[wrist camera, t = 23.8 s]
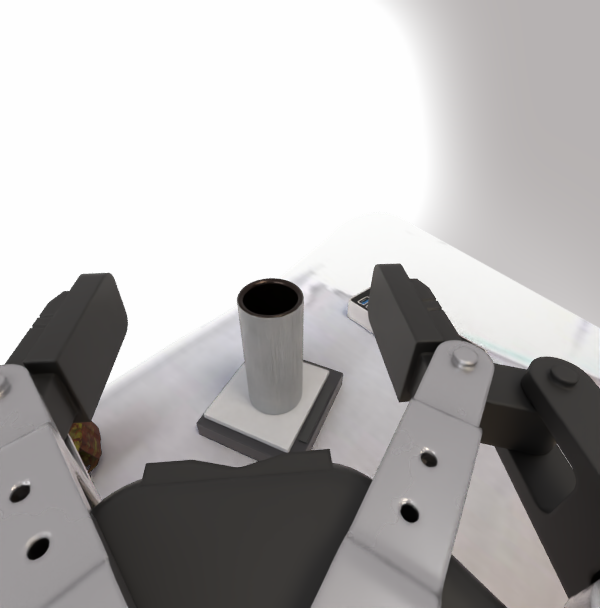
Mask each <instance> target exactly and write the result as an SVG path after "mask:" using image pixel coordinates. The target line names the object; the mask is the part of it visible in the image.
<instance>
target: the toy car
mask: <svg viewBox="0 0 600 608" xmlns="http://www.w3.org/2000/svg"><path fill="white" fill-rule="evenodd" d="M68 434H69V436H70V437H71V439H72V441H73V443H74V445H75V447H76V449H77V451H78V453H79V455H80V457H81V459H82V462H83V464H84V466H85V467H86V466H88V465H91V466H90V468H89V470H88V473H89V472H90V471H92V470H93V469H94V468H95V467H96V466H97V464H98V461H99V458H100V456H101V454H102V451H101V444H100V441H101V437H100V432H99V428H98V427H97V425H96V424H94V423H93V422H92V421H91V422H82V423H73V424H72V426H71V428H70V430H69V433H68Z"/></svg>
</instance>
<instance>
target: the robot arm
mask: <svg viewBox="0 0 600 608" xmlns="http://www.w3.org/2000/svg"><path fill="white" fill-rule="evenodd" d="M368 318H369V322H370V325H371V328H372V330H373V333H374V336H375V338H376V341H377V344H378V347H379V349H380V352H381V355H382V357H383V360H384V363H385V365H386V368H387V371H388V374H389V376H390V379H391V382H392V384H393V387H394V390H395V392H396V395H397V398H398V400H399V402H408V401H410V402H409V404H408V406H407V408H406V410H405V412H404V414H403V417H402V419H401V421H400V423H399V425H398V427H397V429H396V432H395V434H394V436H393V438H392V440H391V442H390V444H389V446H388V449H387V451H386V453H385V455H384V457H383V459H382V461H381V463H380V466H379V468H378V470H377V472H376V474H375V476H374V478H373V480H372V479H371V478H369V477H368V476H366V475H364V474H363V473H361V472H359V471H357V470H355V469H352V468H350V467H347V466H344V465H341V464H336V463H332V460H331V455H330V449H324V450H312V451H299V452H286V453H283V454H280V455H277V456H274V457H271V458H268V459H265V460H262V461H259V462H256V463H253V464H250V465H247V466H244V467H231V466H225V465H219V464H213V463H208V462H202V461H196V460H184V461H171V462H159V463H146V466H145V470H144V474H143V478H142V479H140V480H137V481H135V482H133V483H131V484H128V485H126V486H124V487H122V488H121V489H119V490H117V491H115V492H114V493H112V494H111V495H109V496H108V497H106V498H105V499H103V500H102V499H101V497H100V496H99V494H98V492H97V490H96V488H95V486H94V484H93V482H92V480H91V478H90V476H89V474H88V472H87V470H86V468H85V466H84V464H83V462H82V459H81V457H80V455H79V453H78V451H77V449H76V447H75V445H74V443H73V441H72V439H71V437H70V436H69V434H68V433H69V430H70V428H71V426H72V424H73V423H82V422H91V420H92V417H93V415H94V412H95V410H96V407H97V405H98V402H99V400H100V397H101V395H102V392H103V390H104V387H105V385H106V382H107V380H108V377H109V375H110V372H111V370H112V367H113V365H114V362H115V360H116V357H117V355H118V352H119V350H120V347H121V345H122V342H123V340H124V337H125V335H126V332H127V326H128V322H127V321H128V320H127V314H126V311H125V308H124V305H123V302H122V300H121V297H120V294H119V291H118V288H117V285H116V282H115V279H114V277H113V276H112V275H111V274H110V273H96V274H81V275H80V276H79V278H78V279H77V281H76V282H75V284H74V285H73V287H72V288H71V290H70V291H64V292H62V293H61V294H60V295H58V296H57V297H56V298H54V299H53V300H51V301H50V302H49V303H48V304H47V306H46V307H45V308H44V310H43V311H42V313H41V314H40V318H37V320H36V321H35V323H34V324H33V325H32V326H33V328H30V330H29V331H28V332H27V334H26V335H25V337H24V338H23V339H22V341H21V342H20V344H19V345H18V347H17V348H16V349H15V351H14V352H13V353H12V355H11V356H10V358H9V359H8V360H7V362H6V363H5V365H0V608H507V607H506V606H505V605H504V604H503V603H502V602H501V601H500V600H499V599H498V598H496V597H495V596H494V595H493V594H492V593H491V592H490V591H489V590H488V589H487V588H486V587H485V586H484V585H483V584H482V583H481V582H480V581H479V580H478V579H477V578H476V577H475V576H474V575H473V574H472V573H471V572H470V571H468V570H467V569H466V568H465V567H464V566H463V565H462V564H461V563H460V562H459V561H458V560H457V559H456V558H455V557H454V556H453V555H452V550H453V546H454V542H455V538H456V534H457V530H458V526H459V523H460V519H461V515H462V511H463V507H464V503H465V499H466V495H467V491H468V488H469V484H470V480H471V476H472V472H473V468H474V464H475V460H476V456H477V452H478V449H479V445H480V443H483V444H488V445H492V446H495V448H496V450H497V452H498V454H499V456H500V459H501V461H502V463H503V465H504V467H505V469H506V471H507V473H508V475H509V477H510V479H511V481H512V483H513V485H514V487H515V489H516V491H517V493H518V495H519V498H520V500H521V502H522V504H523V506H524V508H525V510H526V512H527V514H528V516H529V518H530V520H531V522H532V524H533V526H534V528H535V530H536V532H537V534H538V537H539V539H540V541H541V543H542V545H543V547H544V549H545V551H546V553H547V555H548V557H549V559H550V561H551V563H552V565H553V567H554V569H555V571H556V573H557V576H558V578H559V580H560V582H561V584H562V586H563V588H564V590H565V592H566V594H567V596H568V598H569V600H568V601H567V602H566V604H565V606H564V608H600V388H599V387H598V386H597V385H596V384H595V382H594V381H593V380H592V379H591V378H590V377H589V376H588V375H587V374H586V373H585V372H584V371H583V370H581V369H580V368H579V367H577V366H575V365H574V364H572V363H570V362H567V361H565V360H562V359H559V358H554V357H540V358H536V359H534V360H533V361H532V362H531V364H530V366H529V367H528V369H527V370H526V369H521V368H515V367H510V366H505V365H500V364H495V363H493V361H492V359H491V357H490V356H489V355H488V354H487V353H486V352H485V351H484V350H482V349H481V348H479V347H477V346H476V345H473V344H471V343H468V342H465V341H462V339H461V337H460V336H459V334H458V333H457V331H456V330H455V328H454V326H453V325H452V323H451V322H450V320H449V319H448V317H447V315H446V314H445V312H444V311H443V310H442V307H441V306H440V304H439V303H438V301H436V298H435V296H434V295H433V293H432V292H431V290H430V289H429V287H427V286H426V285H425V284H423V283H422V282H421V281H419V280H418V279H409V277H408V275H407V274H406V272H405V270H404V268H403V267H402V265H401V264H377V265H376V266H375V267H374V271H373V277H372V282H371V288H370V294H369V300H368ZM557 444H558V445H557ZM558 446H559V447H560V449H561V450H562V452H563V453H564V455H565V456H564V455H563V453H562V452H561V450H560V449H559V447H558ZM565 457H566V458H567V460H568V461H569V463H570V464H571V466H572V467H571V466H570V464H569V463H568V461H567V460H566V458H565ZM572 468H573V469H572ZM573 470H574V471H573Z"/></svg>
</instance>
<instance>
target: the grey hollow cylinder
mask: <svg viewBox="0 0 600 608" xmlns="http://www.w3.org/2000/svg"><path fill="white" fill-rule="evenodd" d="M237 305H238V313H239V321H240V329H241V336H242V344H243V352H244V360H245V368H246V376H247V384H248V392H249V397H250V400H251V403H252V404H253V406H254V407H255V408H256V409H258V410H259V411H261V412H263V413H266V414H272V415H277V414H283V413H286V412H288V411H290V410H292V409H293V408H295V407H296V406H297V405H298V403H299V402H300V400H301V397H302V389H303V310H304V297H303V293H302V291H301V290H300V288H299V287H298V286H296V285H295V284H293V283H292V282H289V281H286V280H283V279H275V278H269V279H262V280H257V281H255V282H252V283H250V284H248V285H247V286H245V287H244V288H243V289H242V290H241V291H240V293H239V294H238V297H237Z"/></svg>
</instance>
